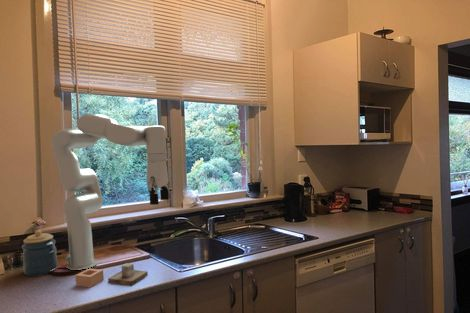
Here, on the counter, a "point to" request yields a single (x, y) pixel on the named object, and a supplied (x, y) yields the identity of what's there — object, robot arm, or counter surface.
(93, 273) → the collar
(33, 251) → the canister
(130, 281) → the post board
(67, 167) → the robot arm
